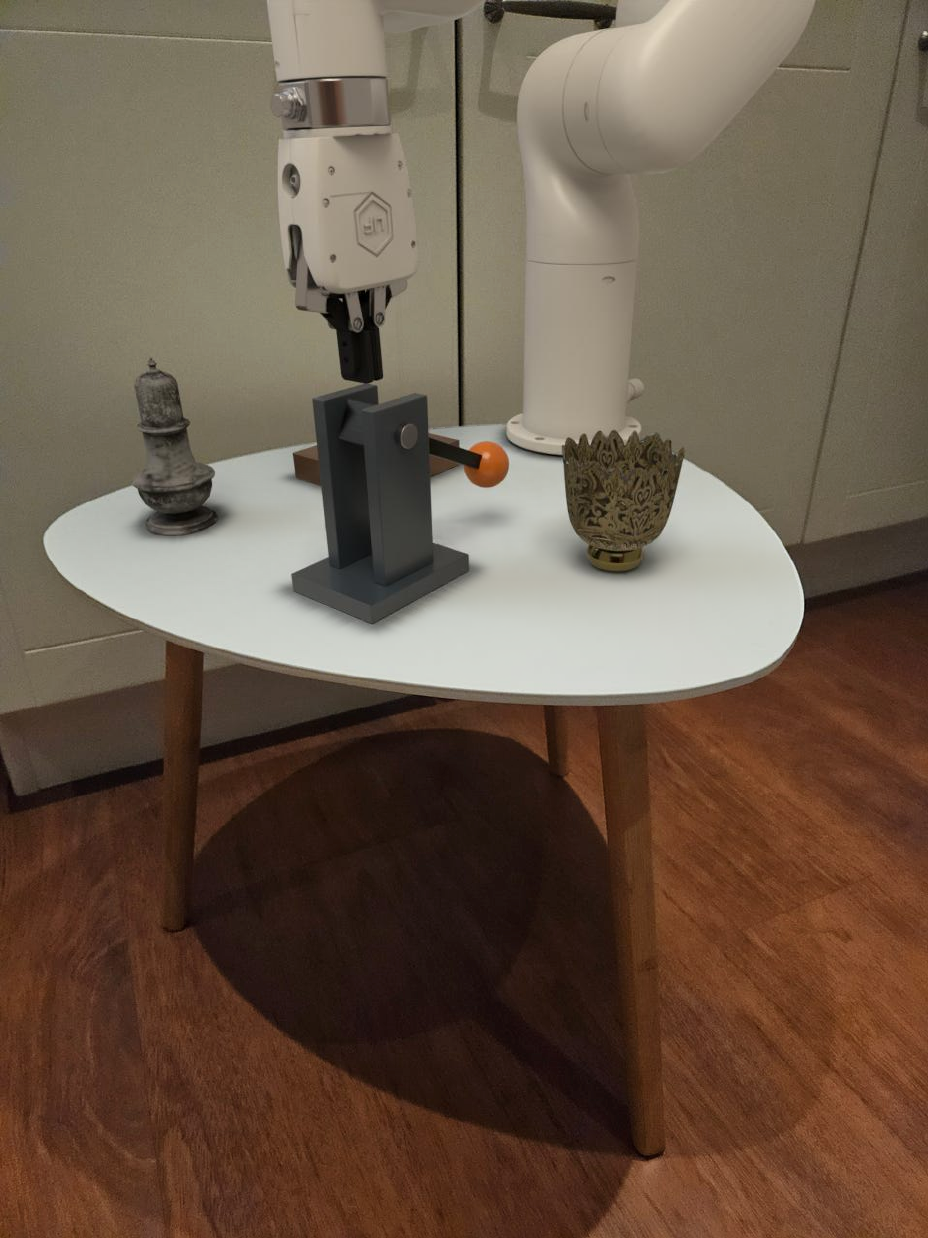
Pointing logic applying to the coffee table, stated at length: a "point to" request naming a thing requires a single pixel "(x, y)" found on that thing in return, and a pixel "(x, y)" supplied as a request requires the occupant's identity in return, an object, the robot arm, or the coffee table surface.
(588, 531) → the cup
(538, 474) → the coffee table surface
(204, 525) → the salt shaker
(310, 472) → the brown block
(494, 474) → the switch lever
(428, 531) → the switch bracket
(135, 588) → the coffee table surface
